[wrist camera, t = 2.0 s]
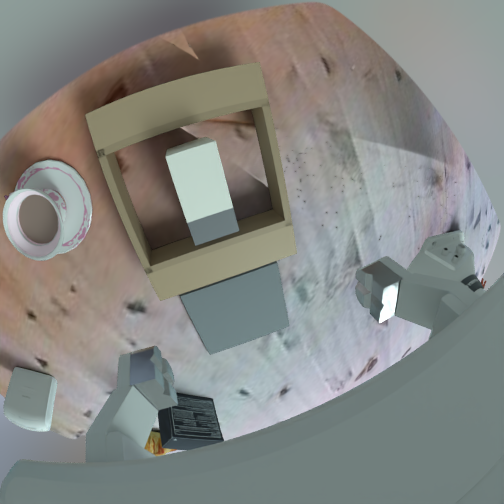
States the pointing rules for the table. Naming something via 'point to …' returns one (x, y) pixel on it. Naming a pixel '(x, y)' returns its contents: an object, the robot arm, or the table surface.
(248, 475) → the robot arm
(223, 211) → the box
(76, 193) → the teacup
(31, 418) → the photo printer
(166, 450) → the croissant
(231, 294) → the slate mat
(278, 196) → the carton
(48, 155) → the table surface
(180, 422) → the small box
